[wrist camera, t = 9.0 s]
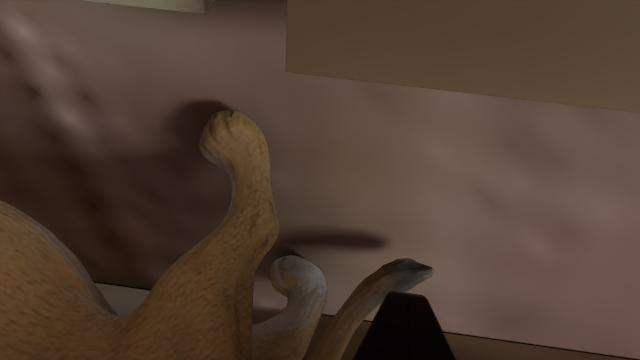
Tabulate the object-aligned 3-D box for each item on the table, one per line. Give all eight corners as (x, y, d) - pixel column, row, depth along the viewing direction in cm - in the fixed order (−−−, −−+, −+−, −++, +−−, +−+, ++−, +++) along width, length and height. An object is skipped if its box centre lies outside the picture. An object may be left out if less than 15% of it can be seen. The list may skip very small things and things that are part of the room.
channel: (885, 434, 14) (960, 545, 12) (-161, 279, 16) (-241, 355, 14) (1468, 10, 7) (1852, 111, 5) (-483, -177, 9) (-727, -153, 7)
